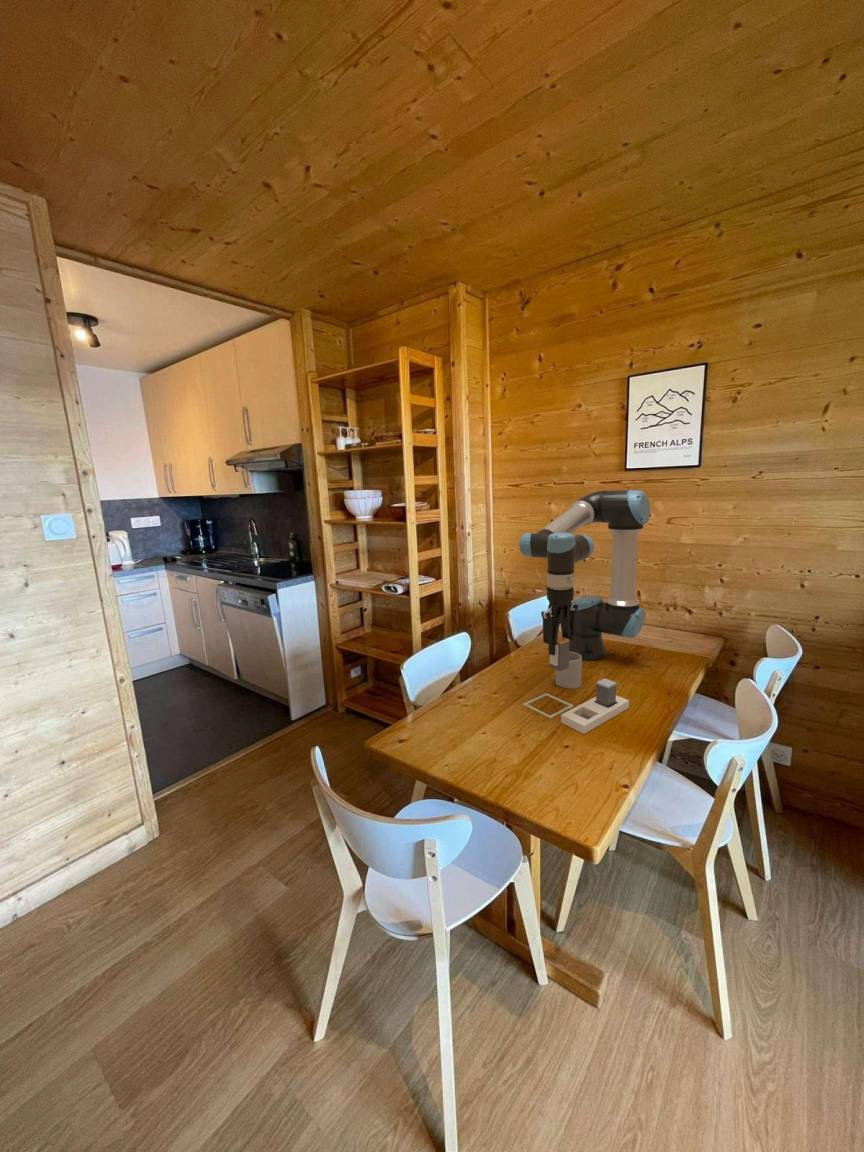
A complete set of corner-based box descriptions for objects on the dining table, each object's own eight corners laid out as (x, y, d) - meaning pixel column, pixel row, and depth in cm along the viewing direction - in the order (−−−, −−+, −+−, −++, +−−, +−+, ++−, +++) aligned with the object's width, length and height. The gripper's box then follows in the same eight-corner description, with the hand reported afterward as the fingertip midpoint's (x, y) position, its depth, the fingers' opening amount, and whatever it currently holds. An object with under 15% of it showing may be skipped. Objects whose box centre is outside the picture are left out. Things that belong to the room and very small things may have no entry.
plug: (549, 666, 139) (549, 638, 137) (558, 663, 141) (558, 635, 139) (559, 671, 135) (560, 642, 133) (568, 667, 138) (569, 639, 136)
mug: (572, 693, 153) (573, 663, 151) (550, 685, 159) (550, 656, 157) (591, 681, 161) (591, 652, 159) (569, 674, 167) (569, 646, 165)
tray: (523, 707, 146) (523, 703, 146) (546, 696, 152) (546, 693, 152) (550, 721, 137) (550, 717, 137) (573, 709, 143) (573, 705, 143)
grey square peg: (595, 709, 141) (596, 682, 139) (603, 704, 143) (604, 678, 141) (607, 714, 138) (608, 686, 136) (615, 709, 140) (616, 682, 138)
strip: (560, 725, 135) (561, 714, 134) (605, 701, 147) (605, 691, 146) (583, 737, 128) (584, 726, 128) (628, 710, 141) (629, 700, 140)
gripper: (549, 594, 125) (549, 674, 130) (590, 584, 134) (587, 658, 139) (529, 589, 131) (529, 665, 136) (569, 579, 140) (568, 651, 145)
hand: (559, 662), depth 138 cm, fingers closed on plug, 4 cm apart
